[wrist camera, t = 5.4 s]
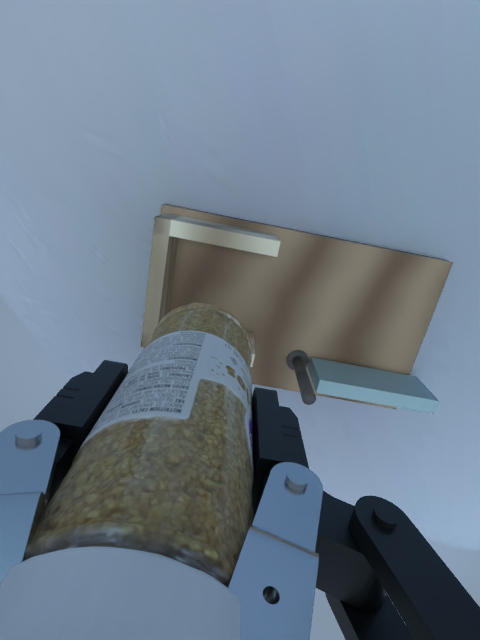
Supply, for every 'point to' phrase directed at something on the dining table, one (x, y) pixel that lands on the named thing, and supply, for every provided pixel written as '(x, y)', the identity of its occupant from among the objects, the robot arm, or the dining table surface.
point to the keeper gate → (371, 385)
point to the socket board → (295, 294)
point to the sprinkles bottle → (150, 500)
